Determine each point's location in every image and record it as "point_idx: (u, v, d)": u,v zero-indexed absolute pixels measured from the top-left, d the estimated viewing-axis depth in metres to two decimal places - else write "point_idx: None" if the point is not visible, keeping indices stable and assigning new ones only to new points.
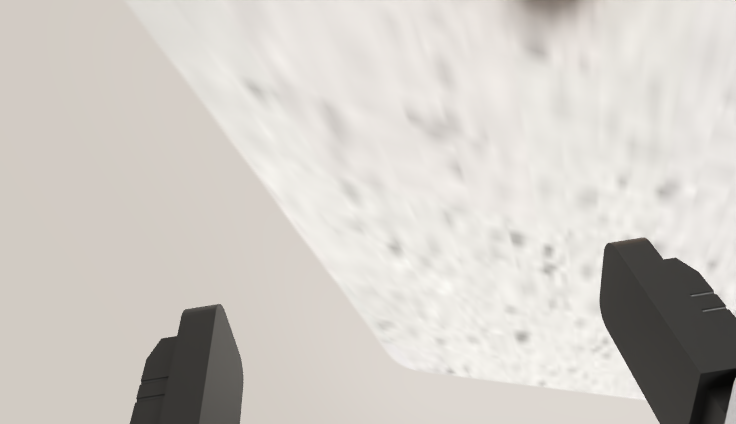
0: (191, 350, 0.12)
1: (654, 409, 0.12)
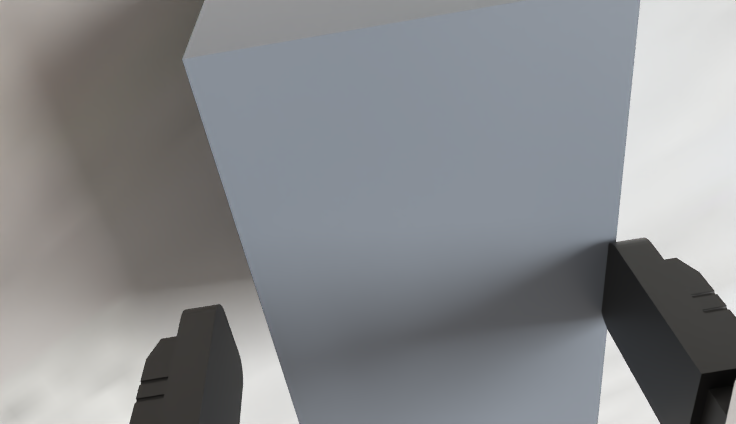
0: (191, 350, 0.12)
1: (655, 409, 0.12)
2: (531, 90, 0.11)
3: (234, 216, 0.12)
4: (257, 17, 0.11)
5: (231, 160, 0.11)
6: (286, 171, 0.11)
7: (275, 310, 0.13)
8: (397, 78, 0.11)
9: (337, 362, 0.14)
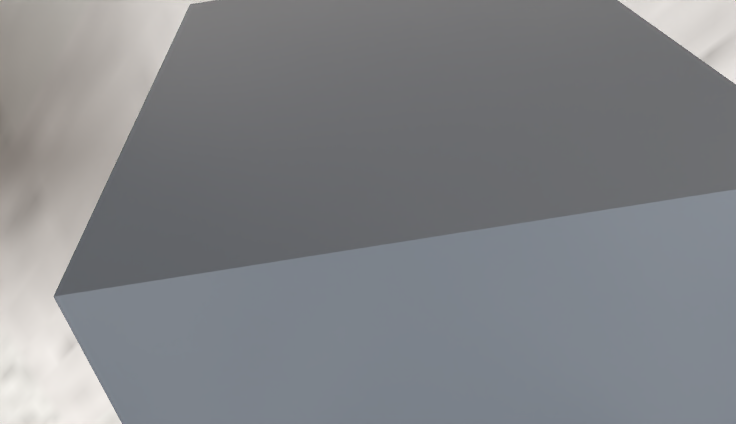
0: None
1: None
2: (644, 324, 0.07)
3: None
4: (198, 191, 0.07)
5: None
6: None
7: None
8: (426, 314, 0.06)
9: None
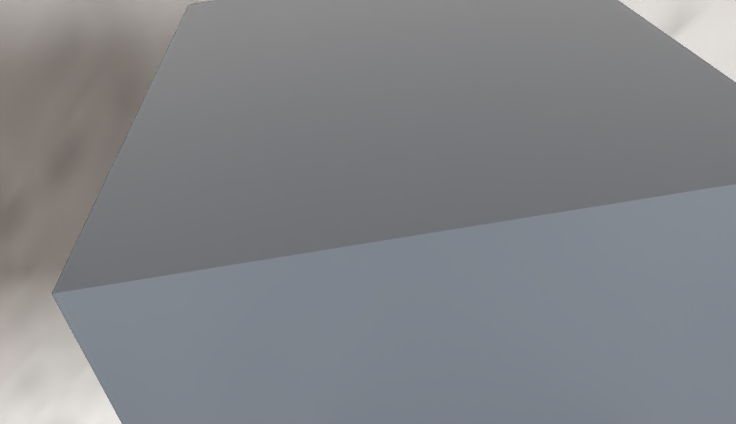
0: None
1: None
2: (644, 320, 0.07)
3: None
4: (196, 189, 0.07)
5: None
6: None
7: None
8: (425, 311, 0.06)
9: None
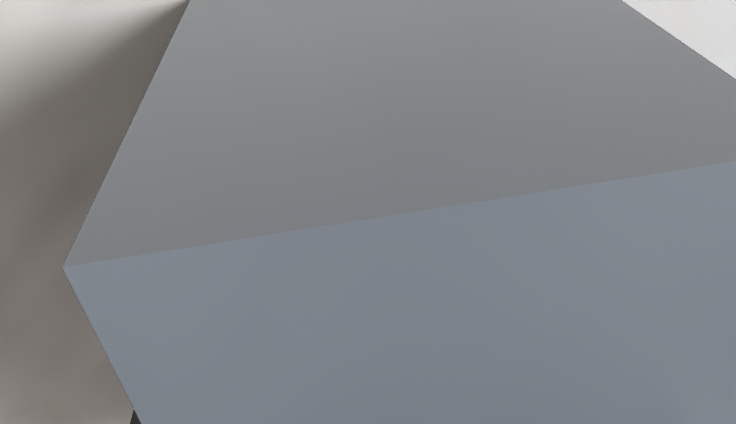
0: None
1: None
2: (632, 298, 0.07)
3: None
4: (200, 171, 0.07)
5: (155, 398, 0.07)
6: (242, 408, 0.07)
7: None
8: (420, 287, 0.07)
9: None
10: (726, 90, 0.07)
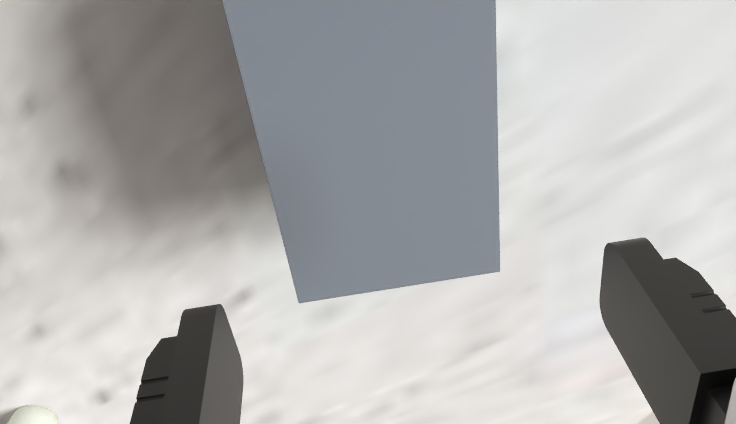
0: (191, 350, 0.12)
1: (654, 409, 0.12)
2: None
3: (240, 70, 0.18)
4: None
5: (239, 28, 0.17)
6: (275, 37, 0.18)
7: (267, 144, 0.19)
8: None
9: (310, 190, 0.20)
10: None
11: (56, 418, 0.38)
